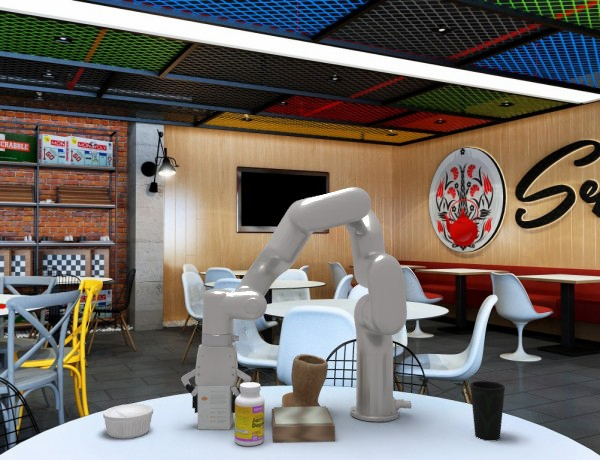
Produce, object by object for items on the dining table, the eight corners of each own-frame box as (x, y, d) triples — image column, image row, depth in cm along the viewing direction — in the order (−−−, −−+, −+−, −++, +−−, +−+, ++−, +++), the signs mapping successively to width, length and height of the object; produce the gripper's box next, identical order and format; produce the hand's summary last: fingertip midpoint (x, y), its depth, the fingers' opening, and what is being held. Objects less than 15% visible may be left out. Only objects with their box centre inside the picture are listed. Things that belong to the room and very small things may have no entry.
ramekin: (92, 437, 132) (93, 414, 132) (123, 422, 143) (123, 401, 143) (133, 443, 128) (133, 419, 129) (161, 428, 139) (162, 406, 139)
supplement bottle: (252, 449, 125) (252, 389, 125) (228, 443, 128) (229, 385, 129) (270, 440, 131) (270, 383, 131) (246, 434, 134) (247, 379, 134)
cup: (487, 444, 129) (487, 390, 129) (463, 434, 135) (463, 383, 136) (512, 439, 132) (512, 386, 132) (487, 429, 139) (487, 379, 139)
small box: (233, 422, 143) (234, 380, 143) (230, 430, 137) (230, 386, 137) (201, 422, 143) (202, 379, 143) (196, 429, 138) (197, 385, 138)
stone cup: (329, 420, 145) (330, 361, 146) (283, 421, 145) (283, 361, 145) (324, 403, 161) (324, 349, 161) (281, 403, 160) (281, 349, 160)
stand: (327, 421, 144) (327, 405, 144) (334, 441, 130) (334, 423, 130) (271, 422, 143) (271, 406, 143) (273, 442, 129) (273, 424, 129)
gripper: (253, 338, 145) (251, 407, 144) (183, 337, 144) (181, 406, 143) (252, 343, 137) (250, 416, 137) (179, 342, 136) (177, 415, 136)
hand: (215, 411), depth 140 cm, fingers closed on small box, 8 cm apart
